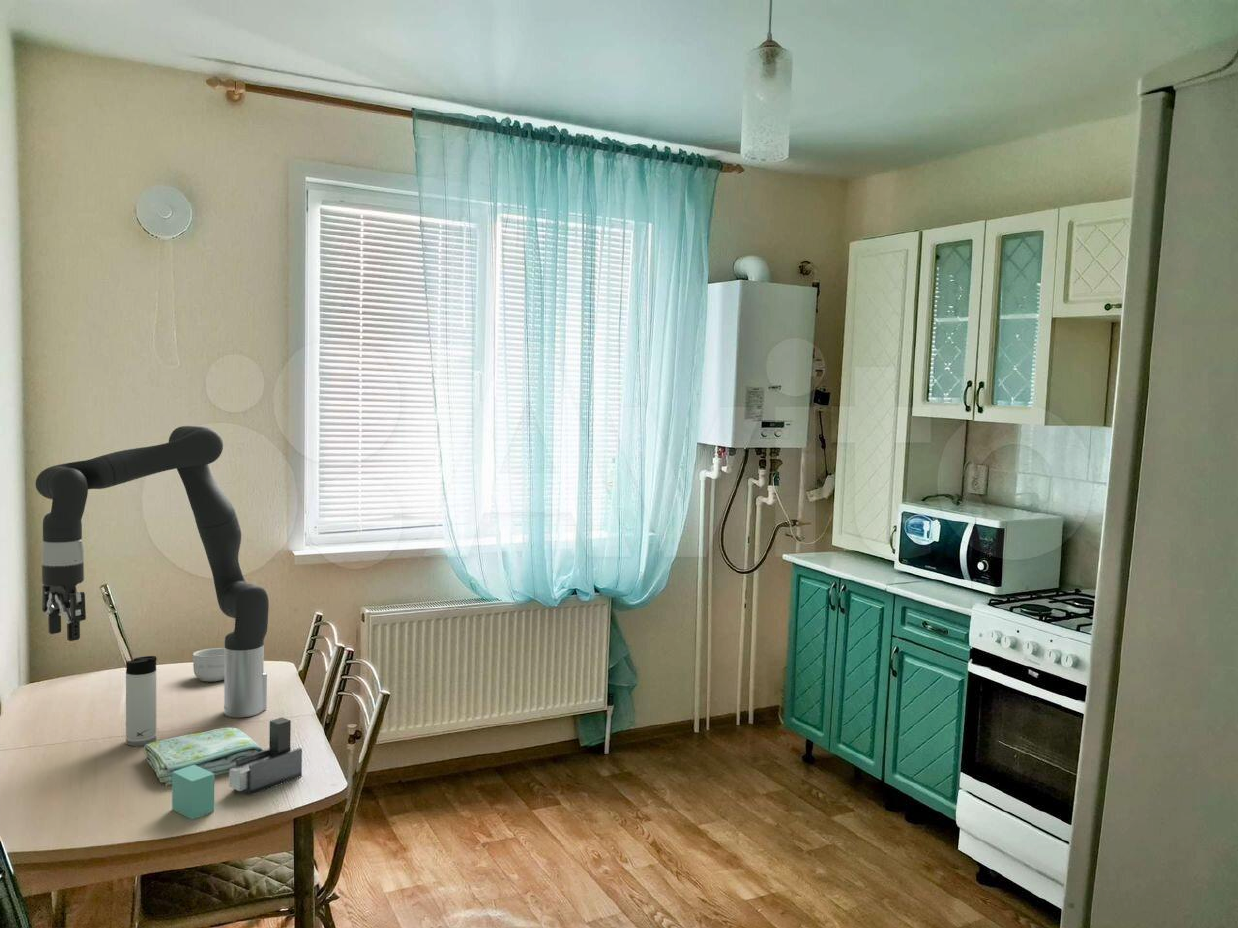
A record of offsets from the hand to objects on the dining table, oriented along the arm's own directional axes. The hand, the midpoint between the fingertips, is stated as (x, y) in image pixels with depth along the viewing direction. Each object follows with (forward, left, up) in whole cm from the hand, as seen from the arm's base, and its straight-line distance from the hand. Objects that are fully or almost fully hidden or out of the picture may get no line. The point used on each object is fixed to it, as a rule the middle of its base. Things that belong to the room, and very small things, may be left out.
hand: (64, 636), depth 190 cm
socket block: (-6, +40, -29) cm, 49 cm away
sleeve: (-23, +40, -29) cm, 54 cm away
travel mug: (-17, -2, -29) cm, 34 cm away
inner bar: (-22, +40, -27) cm, 53 cm away
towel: (-20, +19, -29) cm, 40 cm away
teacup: (-54, -31, -29) cm, 69 cm away
